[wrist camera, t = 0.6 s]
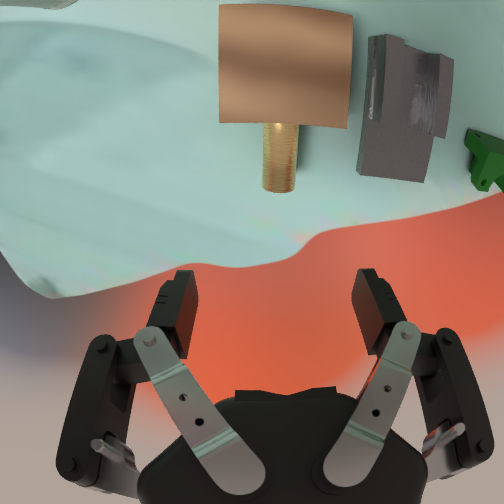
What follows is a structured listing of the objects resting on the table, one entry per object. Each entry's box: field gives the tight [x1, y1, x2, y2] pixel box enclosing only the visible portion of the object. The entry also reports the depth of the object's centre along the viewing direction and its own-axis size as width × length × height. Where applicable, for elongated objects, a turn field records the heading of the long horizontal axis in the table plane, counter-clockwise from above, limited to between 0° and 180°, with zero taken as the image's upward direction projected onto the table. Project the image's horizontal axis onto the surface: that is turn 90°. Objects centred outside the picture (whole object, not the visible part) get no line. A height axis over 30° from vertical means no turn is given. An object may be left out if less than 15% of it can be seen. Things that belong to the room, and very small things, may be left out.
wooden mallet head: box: [219, 4, 353, 129], centre depth 19 cm, size 10×10×8 cm
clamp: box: [464, 130, 504, 193], centre depth 24 cm, size 12×6×9 cm, turn 87°
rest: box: [356, 34, 454, 183], centre depth 23 cm, size 16×9×4 cm, turn 179°
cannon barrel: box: [262, 123, 299, 193], centre depth 22 cm, size 16×3×3 cm, turn 179°
